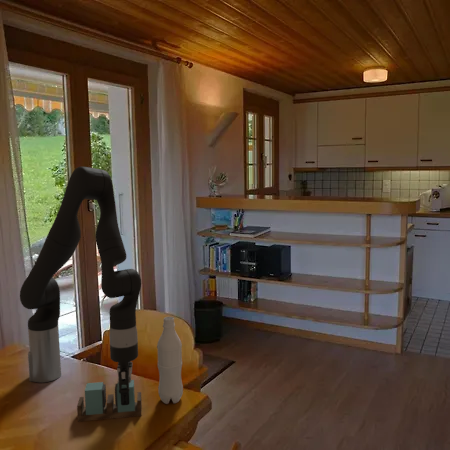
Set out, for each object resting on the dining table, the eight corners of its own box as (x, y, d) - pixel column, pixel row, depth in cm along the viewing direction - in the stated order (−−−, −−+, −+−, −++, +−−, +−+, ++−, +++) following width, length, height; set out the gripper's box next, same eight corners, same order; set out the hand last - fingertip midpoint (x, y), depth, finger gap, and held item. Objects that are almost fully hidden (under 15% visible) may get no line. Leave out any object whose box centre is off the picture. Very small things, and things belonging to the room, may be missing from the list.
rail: (77, 421, 129) (77, 405, 128) (80, 412, 134) (79, 397, 133) (141, 415, 131) (140, 400, 131) (141, 406, 136) (141, 391, 136)
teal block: (134, 402, 135) (133, 379, 134) (134, 410, 131) (133, 386, 130) (116, 404, 135) (115, 381, 134) (115, 412, 130) (114, 388, 129)
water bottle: (179, 407, 136) (176, 322, 133) (155, 404, 137) (152, 321, 134) (186, 395, 143) (184, 315, 140) (163, 393, 144) (161, 313, 141)
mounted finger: (85, 415, 129) (84, 390, 128) (88, 406, 133) (86, 383, 133) (105, 413, 130) (103, 389, 129) (106, 405, 134) (105, 381, 133)
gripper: (136, 350, 124) (139, 409, 126) (138, 331, 138) (140, 384, 140) (107, 352, 123) (110, 411, 125) (111, 333, 137) (114, 386, 139)
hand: (126, 397), depth 133 cm, fingers open, 8 cm apart
